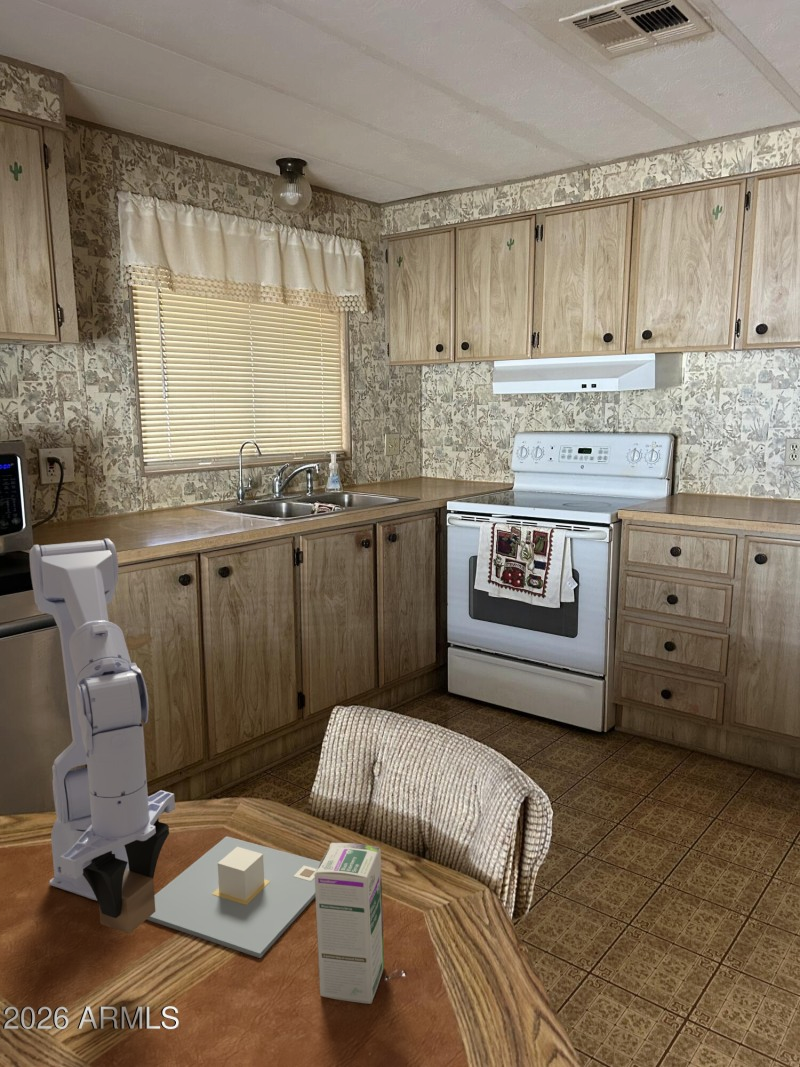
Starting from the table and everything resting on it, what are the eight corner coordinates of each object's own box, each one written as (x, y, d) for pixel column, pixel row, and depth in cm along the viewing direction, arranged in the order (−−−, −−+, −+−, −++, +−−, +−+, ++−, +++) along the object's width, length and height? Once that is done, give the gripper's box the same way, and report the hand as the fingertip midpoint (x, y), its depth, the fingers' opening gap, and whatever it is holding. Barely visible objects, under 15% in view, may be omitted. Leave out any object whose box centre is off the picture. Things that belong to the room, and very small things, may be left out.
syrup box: (372, 1006, 81) (370, 877, 79) (317, 997, 83) (313, 870, 80) (384, 967, 87) (383, 845, 84) (332, 959, 88) (329, 839, 86)
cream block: (219, 892, 99) (217, 863, 98) (238, 874, 103) (237, 846, 102) (245, 900, 97) (244, 871, 97) (264, 882, 101) (263, 853, 100)
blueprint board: (135, 915, 96) (134, 910, 96) (226, 840, 112) (226, 835, 112) (260, 958, 88) (260, 952, 88) (338, 870, 105) (338, 865, 104)
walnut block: (100, 923, 85) (97, 889, 84) (127, 902, 89) (125, 869, 88) (129, 934, 83) (126, 899, 83) (155, 911, 87) (153, 878, 86)
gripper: (94, 826, 75) (104, 954, 78) (193, 762, 88) (200, 873, 91) (40, 811, 78) (51, 934, 81) (144, 750, 91) (151, 858, 93)
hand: (126, 901), depth 86 cm, fingers closed on walnut block, 4 cm apart
